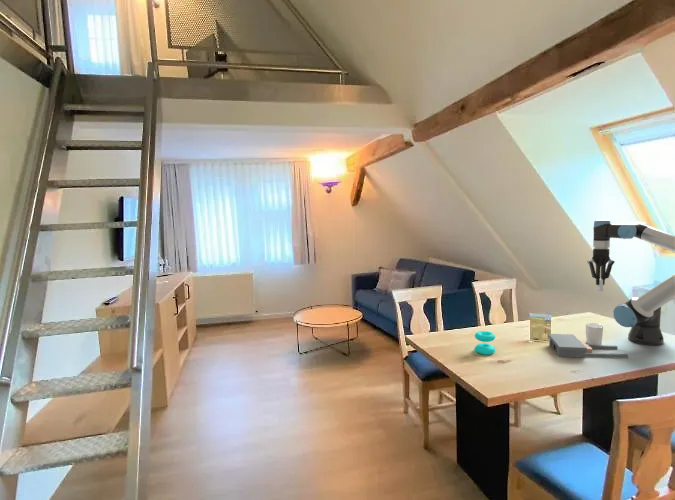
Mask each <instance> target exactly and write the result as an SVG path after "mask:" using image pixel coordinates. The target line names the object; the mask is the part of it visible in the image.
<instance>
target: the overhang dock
mask: <svg viewBox="0 0 675 500" xmlns="http://www.w3.org/2000/svg"><path fill="white" fill-rule="evenodd" d="M548 338H549V341H548V343H549V347H551V348H552V349H553V350H554V352H555V353H556V356H557V357H561V358H562V357H564V358H586V357H588V358H589V357H592V358H593V357H594V358H618V359H620V358H623V359H628V358H629V355H628V354H627V353H617V352H616V353H614V352H613V353H611V352H610V353H609V352H592V353H588V352H585V351H587V347H586V346H585V345H584V344H582V343H583V342H582V341H580V339H578V338H577V336H575V334H574V333H573V334H571V333H548ZM588 345H589V346H590V347H591V348H592V350H593V349H594V350H596V349H599V350H618V346H617V345H608V344H601V345H590V344H588Z"/></svg>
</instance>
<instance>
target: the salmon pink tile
mask: <svg viewBox="0 0 675 500" xmlns="http://www.w3.org/2000/svg"><path fill="white" fill-rule="evenodd" d="M581 343H582V344H584V345H585V346H586V347H587V351H585V352H588V353H593V349H592V348H591V347H590V346H589V345H590V344H588V343H587V342H586V343H583V342H581Z"/></svg>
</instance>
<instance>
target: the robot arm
mask: <svg viewBox="0 0 675 500" xmlns="http://www.w3.org/2000/svg"><path fill="white" fill-rule="evenodd" d="M592 229H593V241H592V242H593V246H592V248H593V249H592V258H591V259H590V260H587V264H588V266H589V269H590V273H591V276H592V278H593V279H595V285H597V291H598V292H603V290H604V288H603V287H604V286H605V284H606V283H605V280H606V279H609V278H610V276H611V271H612V268H613V265H614V264H615V260H612V259H611V257H610V246H611V244H610V243H611V242H610V241H611V240H610V239H622V240H629V239H630V240H631V239H633V238H637V239H639V240H642V241H644V242H647V243H649V244H652V245H655V246H657V247H660V248H662V249H664V250H668V251H671V252H672V253H675V235H674V234H671V233H669V232H667V231H663V230H660V229H657V228H654V227H652V226H649V224H647V222H643V221H635V222H626V223H612V222H611V220H610V219H605V218H604V219H595V220H594V221H593V228H592ZM594 264H595V266H594ZM674 299H675V273H673V274H671V275H670V276H669V277H667V278H665V280H663V281H661V282H660V283H659V284H657V285H655V286H654V287H652V288H650V290H648V291H647V292H645V293H644V294H642V295H641V296H634V297H632V298H630V299H629V300H627V301H626V302H625V303H620V304H618V305H616V306H615V307H614V308H613V311H612V312H613V319H614V321H615V322H616V323H617V324H618V325H620V326H621V327H624V328H630V330H629V332H628V337H627V339H628V340H629V341H631V342H633V343H635V344H640V345H646V346H647V345H648V346H661V345H663V344H664V342H665V341H664V340H665V339H664V335H663V333H662V329H661V317H662V315H661V314H662V307H663V306H664V305H666V304H668V303H669V302H670V301H672V300H674Z"/></svg>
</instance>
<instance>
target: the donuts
mask: <svg viewBox="0 0 675 500" xmlns="http://www.w3.org/2000/svg"><path fill="white" fill-rule="evenodd" d="M474 338H475V339H476V340H478V341H479V342H483V343H478V344H476V346H474V350H475V352H476V353H477V354H480V355H484V356H489V355H493V354H494V353H495V352H496V347H495V346H493V345H492V344H489V342H492V341H494V340H495V339H496V334H494V333H493V332H491V331H487V330H486V331H485V330H481V331H480V330H479V331H477V332H475V333H474Z"/></svg>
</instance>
